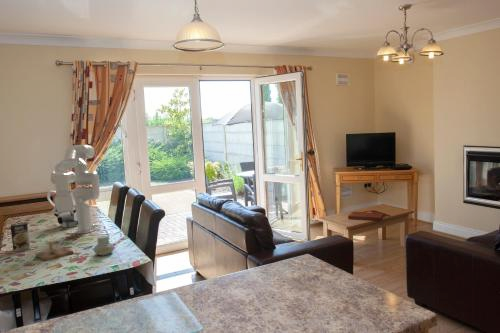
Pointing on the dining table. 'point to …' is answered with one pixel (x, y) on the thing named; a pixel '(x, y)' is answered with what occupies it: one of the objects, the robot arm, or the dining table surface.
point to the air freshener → (103, 246)
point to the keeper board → (57, 254)
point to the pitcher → (54, 205)
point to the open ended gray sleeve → (68, 221)
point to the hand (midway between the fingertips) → (66, 222)
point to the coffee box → (20, 236)
